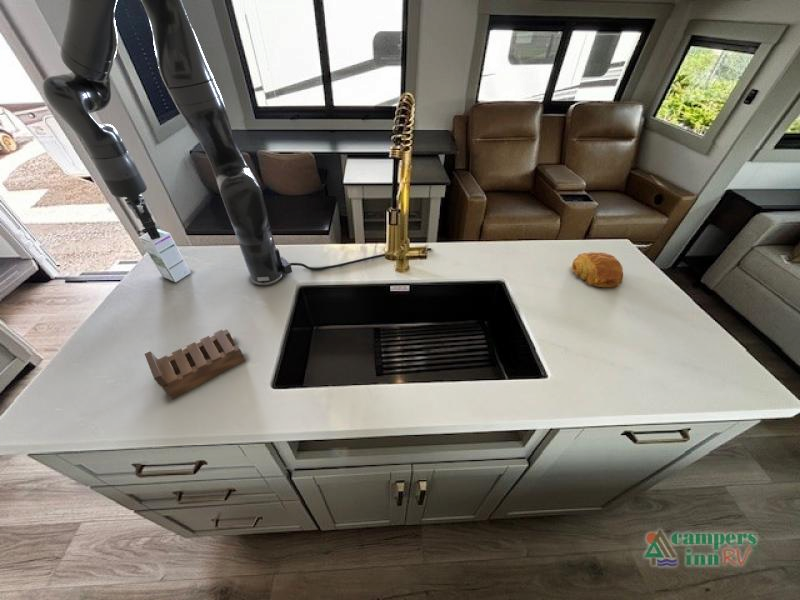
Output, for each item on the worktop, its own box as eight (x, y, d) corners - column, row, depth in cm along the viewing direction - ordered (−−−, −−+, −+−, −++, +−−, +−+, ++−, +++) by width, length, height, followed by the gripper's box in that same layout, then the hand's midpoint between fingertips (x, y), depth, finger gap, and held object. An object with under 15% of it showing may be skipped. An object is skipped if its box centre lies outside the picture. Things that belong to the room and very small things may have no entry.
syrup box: (191, 272, 101) (171, 232, 91) (175, 283, 97) (151, 242, 87) (179, 267, 103) (157, 227, 93) (161, 277, 99) (137, 236, 89)
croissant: (564, 266, 113) (569, 246, 108) (612, 264, 111) (620, 244, 106) (577, 292, 102) (584, 272, 97) (631, 291, 100) (641, 270, 95)
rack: (232, 340, 82) (221, 318, 76) (245, 360, 77) (235, 338, 72) (162, 375, 74) (144, 353, 68) (172, 399, 69) (153, 378, 64)
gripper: (145, 178, 77) (174, 238, 88) (131, 161, 84) (160, 218, 95) (107, 186, 73) (142, 247, 84) (96, 167, 80) (130, 225, 91)
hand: (152, 231), depth 89 cm, fingers open, 8 cm apart
